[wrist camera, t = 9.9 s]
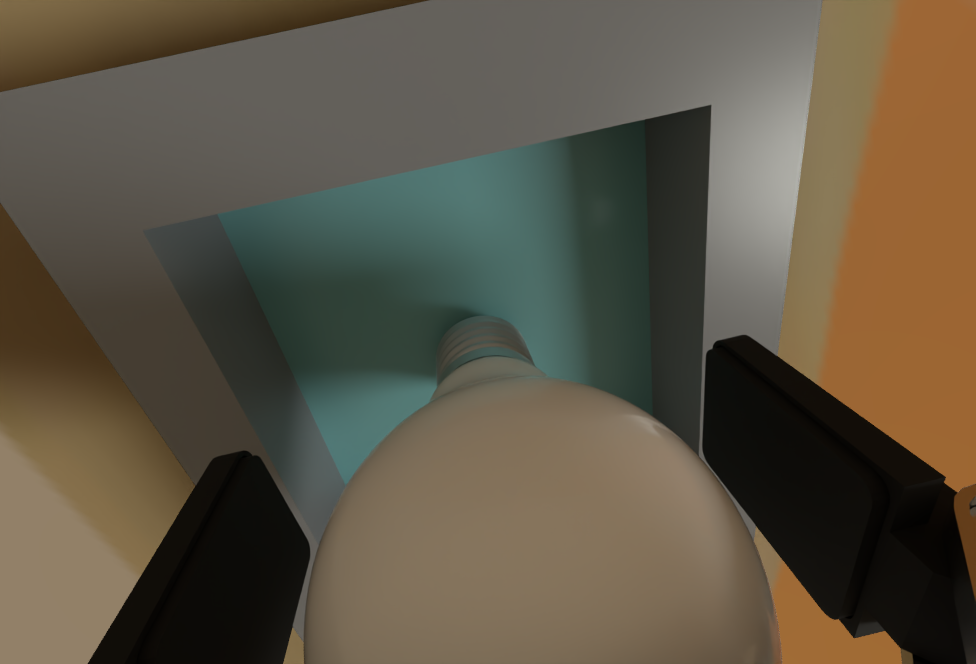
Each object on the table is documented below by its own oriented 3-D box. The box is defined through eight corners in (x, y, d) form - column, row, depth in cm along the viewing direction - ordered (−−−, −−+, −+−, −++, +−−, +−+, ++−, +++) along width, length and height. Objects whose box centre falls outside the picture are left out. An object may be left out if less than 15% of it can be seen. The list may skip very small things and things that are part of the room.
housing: (691, 457, 18) (753, 540, 15) (330, 542, 18) (307, 648, 15) (703, -26, 11) (833, -87, 8) (96, 106, 11) (-66, 106, 7)
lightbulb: (327, 323, 13) (0, 998, 3) (516, 198, 12) (910, 596, 2) (451, 460, 16) (488, 1050, 6) (613, 367, 15) (983, 882, 5)
